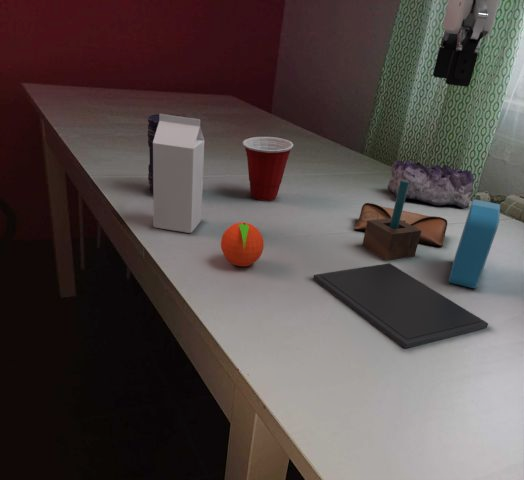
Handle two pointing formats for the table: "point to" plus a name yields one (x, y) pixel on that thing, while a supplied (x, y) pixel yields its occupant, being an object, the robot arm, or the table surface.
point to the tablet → (400, 304)
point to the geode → (433, 183)
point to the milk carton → (178, 173)
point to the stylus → (399, 204)
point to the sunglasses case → (428, 225)
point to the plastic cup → (266, 165)
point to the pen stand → (391, 239)
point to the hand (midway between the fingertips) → (449, 81)
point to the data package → (475, 243)
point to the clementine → (242, 244)
